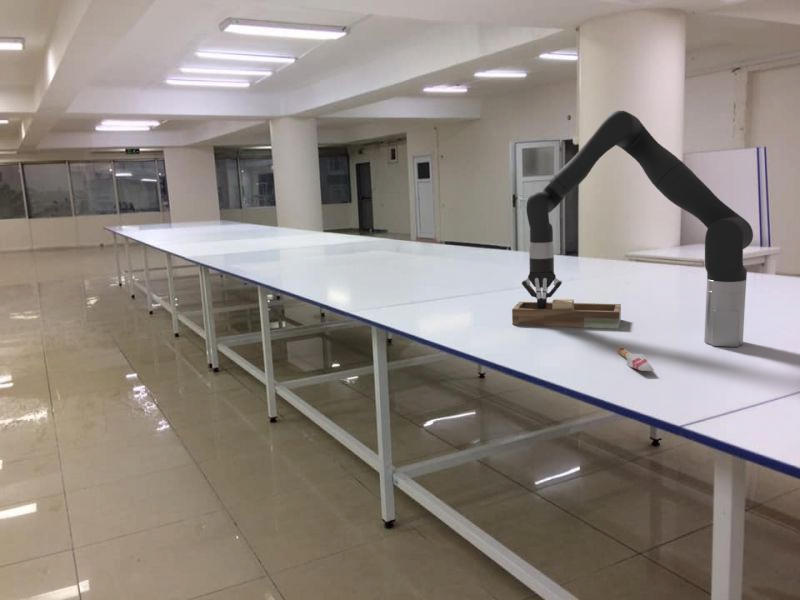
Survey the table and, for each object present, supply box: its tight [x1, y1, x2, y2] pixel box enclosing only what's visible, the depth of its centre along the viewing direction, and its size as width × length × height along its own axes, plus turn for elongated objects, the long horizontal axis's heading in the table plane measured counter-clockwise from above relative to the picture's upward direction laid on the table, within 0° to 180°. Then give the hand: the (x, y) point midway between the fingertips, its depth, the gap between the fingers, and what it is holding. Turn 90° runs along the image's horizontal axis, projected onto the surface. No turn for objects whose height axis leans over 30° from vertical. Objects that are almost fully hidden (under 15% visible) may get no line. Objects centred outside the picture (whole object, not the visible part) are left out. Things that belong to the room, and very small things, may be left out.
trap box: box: [511, 301, 622, 330], centre depth 200 cm, size 12×32×5 cm, turn 69°
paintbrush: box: [616, 346, 655, 372], centre depth 155 cm, size 4×3×20 cm
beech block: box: [551, 298, 575, 310], centre depth 200 cm, size 5×6×4 cm
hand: (542, 309), depth 202 cm, fingers closed
